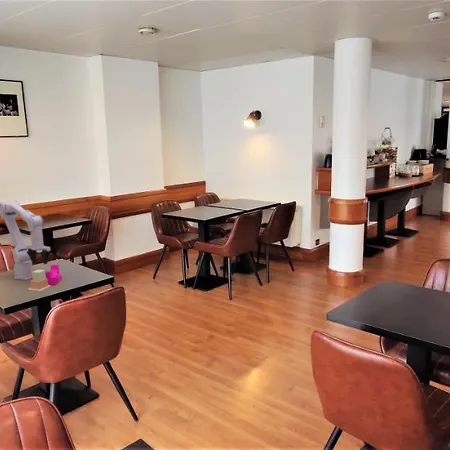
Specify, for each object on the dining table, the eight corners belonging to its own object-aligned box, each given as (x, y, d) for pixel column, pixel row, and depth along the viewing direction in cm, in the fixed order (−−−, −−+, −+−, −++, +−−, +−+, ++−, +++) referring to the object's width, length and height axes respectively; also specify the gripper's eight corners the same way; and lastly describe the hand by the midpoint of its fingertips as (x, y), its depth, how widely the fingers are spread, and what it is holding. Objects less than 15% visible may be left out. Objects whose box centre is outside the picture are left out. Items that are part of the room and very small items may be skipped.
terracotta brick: (30, 288, 235) (29, 280, 234) (39, 284, 241) (38, 277, 240) (39, 289, 233) (39, 282, 232) (48, 285, 239) (47, 278, 238)
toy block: (55, 285, 241) (54, 272, 240) (43, 286, 241) (42, 272, 240) (64, 277, 256) (63, 264, 255) (52, 277, 256) (51, 264, 254)
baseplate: (27, 289, 235) (27, 288, 235) (39, 285, 242) (38, 284, 242) (40, 291, 232) (40, 290, 232) (51, 286, 239) (51, 285, 239)
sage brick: (38, 277, 239) (37, 269, 238) (45, 278, 238) (45, 270, 237) (32, 280, 235) (31, 272, 234) (40, 281, 234) (39, 272, 233)
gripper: (20, 239, 242) (23, 264, 244) (42, 240, 237) (45, 266, 239) (30, 237, 248) (33, 261, 251) (52, 238, 243) (54, 262, 246)
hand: (39, 263), depth 245 cm, fingers open, 7 cm apart
